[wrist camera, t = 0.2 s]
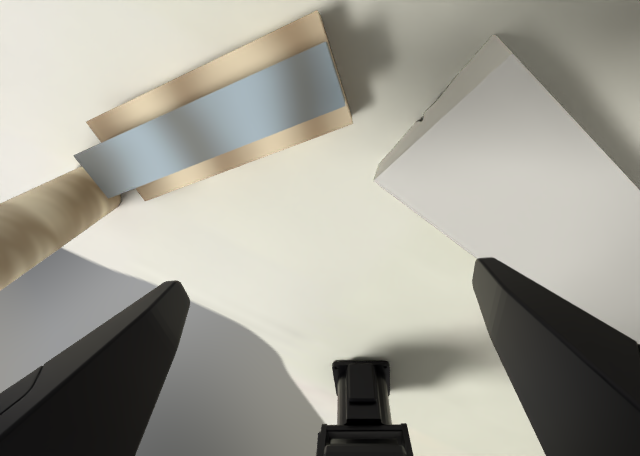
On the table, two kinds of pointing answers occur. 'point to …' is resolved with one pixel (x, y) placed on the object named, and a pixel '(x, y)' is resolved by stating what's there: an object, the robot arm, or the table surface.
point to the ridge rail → (212, 82)
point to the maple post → (48, 220)
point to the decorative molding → (523, 187)
